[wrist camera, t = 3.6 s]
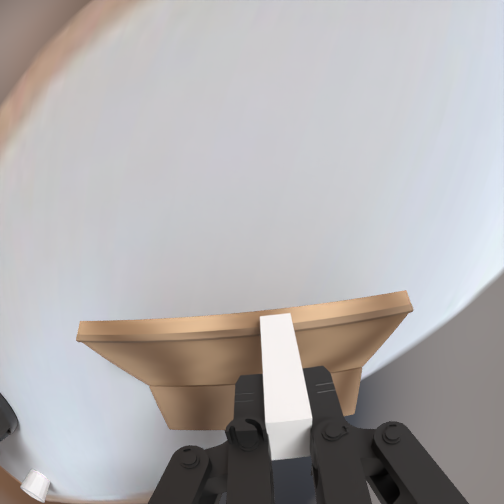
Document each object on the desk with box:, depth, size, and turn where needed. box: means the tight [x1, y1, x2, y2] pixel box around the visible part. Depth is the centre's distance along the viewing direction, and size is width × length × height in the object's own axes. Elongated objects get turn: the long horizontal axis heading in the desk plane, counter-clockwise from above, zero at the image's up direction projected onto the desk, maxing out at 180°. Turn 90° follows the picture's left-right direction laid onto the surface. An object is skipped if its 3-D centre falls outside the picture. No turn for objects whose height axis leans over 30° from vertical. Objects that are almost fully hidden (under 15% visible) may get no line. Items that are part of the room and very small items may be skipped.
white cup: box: [20, 469, 50, 503], centre depth 37 cm, size 7×7×7 cm
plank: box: [76, 290, 413, 386], centre depth 20 cm, size 20×12×1 cm
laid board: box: [149, 367, 362, 430], centre depth 26 cm, size 20×7×1 cm, turn 96°
